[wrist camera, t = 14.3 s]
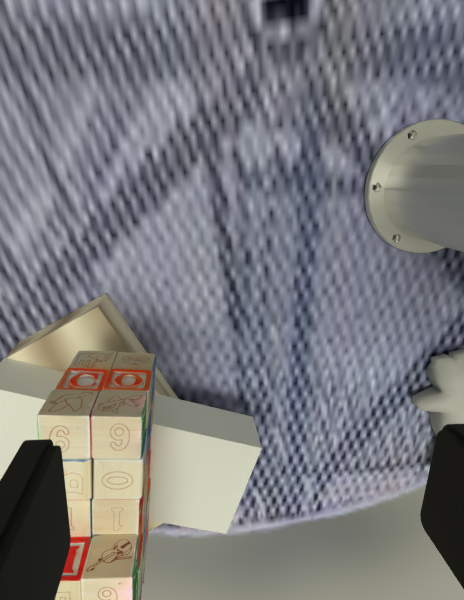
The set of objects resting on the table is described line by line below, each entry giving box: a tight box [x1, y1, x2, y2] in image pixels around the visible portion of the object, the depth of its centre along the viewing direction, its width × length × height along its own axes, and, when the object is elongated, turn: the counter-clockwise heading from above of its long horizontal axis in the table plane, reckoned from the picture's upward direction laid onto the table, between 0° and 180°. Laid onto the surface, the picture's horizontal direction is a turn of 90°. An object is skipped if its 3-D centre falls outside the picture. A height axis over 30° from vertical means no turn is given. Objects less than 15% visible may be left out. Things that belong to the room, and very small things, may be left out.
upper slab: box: [0, 358, 262, 534], centre depth 39 cm, size 10×24×5 cm, turn 71°
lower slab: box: [5, 293, 178, 531], centre depth 44 cm, size 10×24×5 cm, turn 29°
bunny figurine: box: [412, 349, 464, 436], centre depth 48 cm, size 10×5×15 cm
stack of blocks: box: [37, 351, 156, 600], centre depth 31 cm, size 21×6×12 cm, turn 175°
